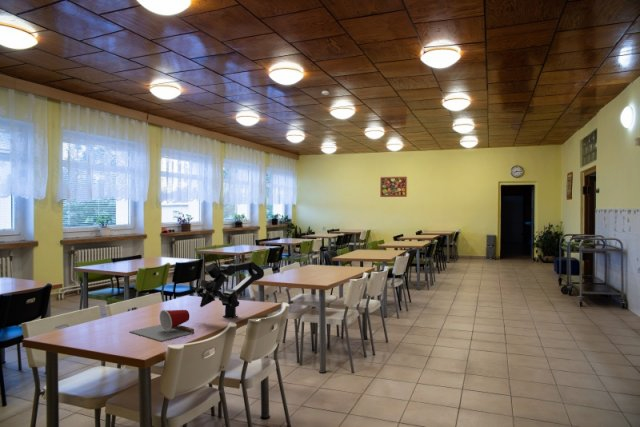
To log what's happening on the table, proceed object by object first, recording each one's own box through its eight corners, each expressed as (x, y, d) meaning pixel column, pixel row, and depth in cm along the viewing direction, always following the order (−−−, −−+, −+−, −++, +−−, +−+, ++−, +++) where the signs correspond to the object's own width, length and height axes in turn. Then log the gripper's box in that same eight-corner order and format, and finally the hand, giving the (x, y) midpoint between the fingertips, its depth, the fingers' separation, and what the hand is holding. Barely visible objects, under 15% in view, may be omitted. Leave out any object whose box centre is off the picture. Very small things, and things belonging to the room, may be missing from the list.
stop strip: (164, 325, 231) (164, 321, 231) (194, 332, 217) (194, 328, 217) (161, 325, 229) (161, 322, 229) (190, 333, 215) (190, 329, 215)
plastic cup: (184, 328, 226) (161, 334, 218) (179, 307, 229) (157, 312, 220) (194, 324, 219) (172, 330, 210) (189, 303, 222) (167, 307, 213)
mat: (159, 325, 230) (159, 324, 230) (192, 333, 214) (192, 332, 214) (129, 332, 216) (129, 331, 216) (161, 341, 201) (161, 340, 201)
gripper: (197, 272, 245) (180, 295, 236) (220, 275, 234) (203, 299, 225) (208, 285, 251) (192, 307, 242) (231, 288, 240) (215, 312, 231)
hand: (200, 306), depth 235 cm, fingers closed
